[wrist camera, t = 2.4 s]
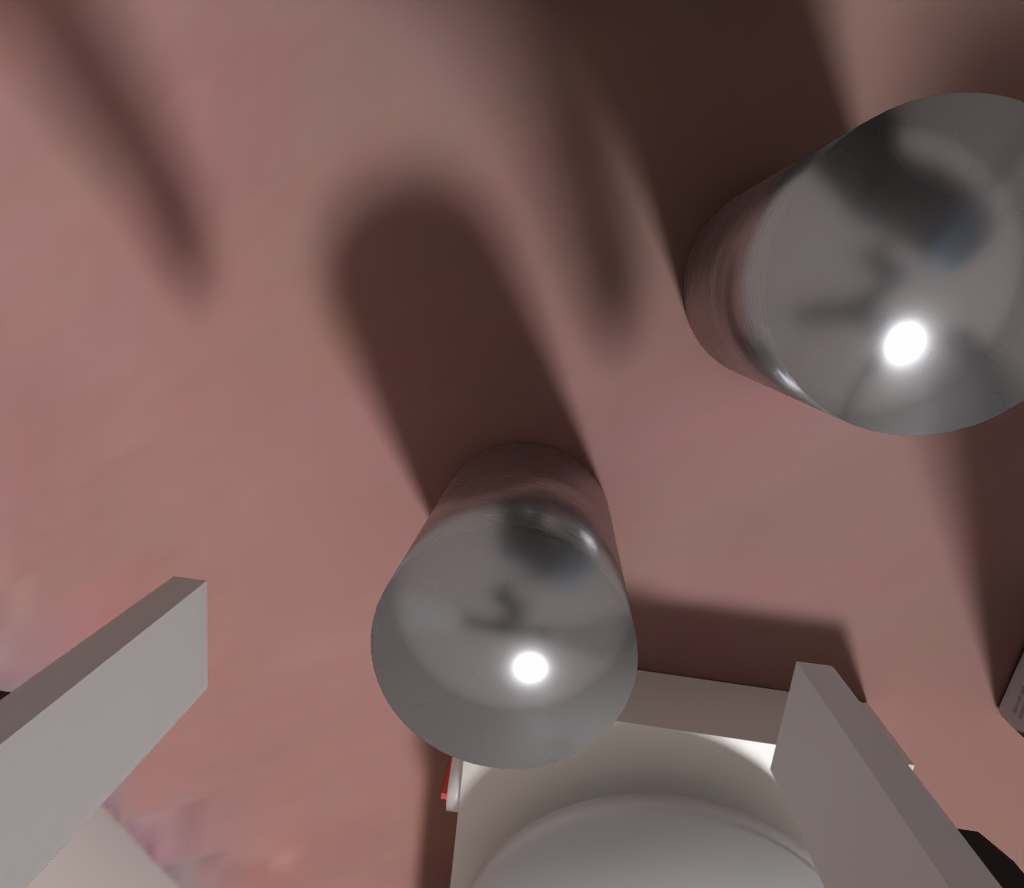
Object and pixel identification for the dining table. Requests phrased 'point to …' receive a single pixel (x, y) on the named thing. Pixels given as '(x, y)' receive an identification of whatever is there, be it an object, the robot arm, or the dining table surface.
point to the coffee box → (1015, 700)
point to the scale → (642, 801)
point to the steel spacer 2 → (879, 270)
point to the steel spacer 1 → (510, 614)
